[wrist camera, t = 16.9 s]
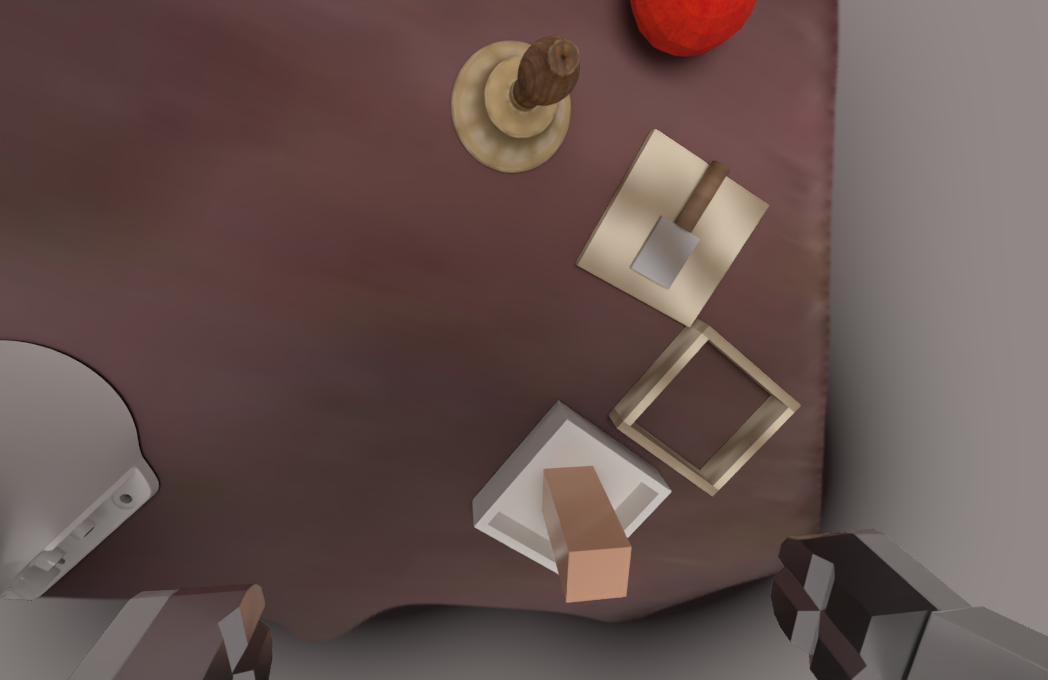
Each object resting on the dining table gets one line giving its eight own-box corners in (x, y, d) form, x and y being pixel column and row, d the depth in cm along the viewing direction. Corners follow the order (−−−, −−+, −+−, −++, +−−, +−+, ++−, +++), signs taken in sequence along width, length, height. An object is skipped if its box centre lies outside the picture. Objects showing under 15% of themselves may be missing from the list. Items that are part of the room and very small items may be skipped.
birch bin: (699, 480, 46) (712, 496, 44) (608, 414, 43) (616, 428, 40) (782, 393, 45) (800, 405, 42) (694, 316, 41) (709, 325, 39)
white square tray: (572, 558, 47) (581, 586, 44) (472, 500, 44) (473, 526, 40) (655, 468, 45) (671, 491, 42) (558, 399, 42) (567, 419, 38)
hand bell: (507, 10, 32) (554, -131, 17) (594, 107, 35) (701, 57, 20) (425, 111, 33) (403, 62, 18) (515, 197, 36) (560, 215, 21)
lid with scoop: (685, 324, 41) (697, 332, 39) (574, 263, 38) (581, 268, 36) (764, 202, 39) (782, 203, 36) (652, 126, 36) (665, 124, 34)
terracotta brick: (542, 511, 44) (566, 602, 35) (543, 468, 43) (568, 552, 33) (589, 507, 45) (626, 596, 35) (592, 465, 43) (631, 546, 34)
